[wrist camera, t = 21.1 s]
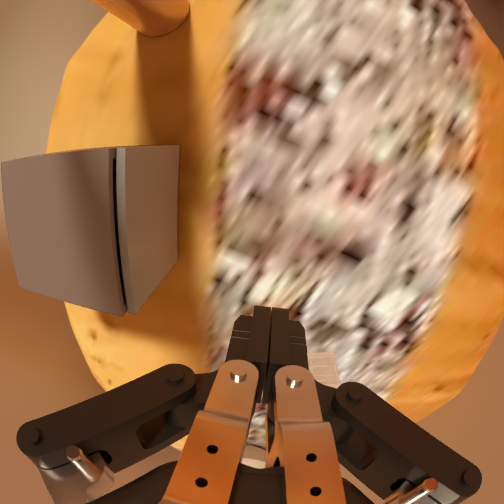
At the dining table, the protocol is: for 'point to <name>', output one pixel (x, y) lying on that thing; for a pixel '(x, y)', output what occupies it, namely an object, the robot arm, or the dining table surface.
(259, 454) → the cereal bowl
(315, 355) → the light bulb box
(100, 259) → the cabinet
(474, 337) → the dining table surface
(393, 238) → the dining table surface
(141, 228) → the drawer tray
